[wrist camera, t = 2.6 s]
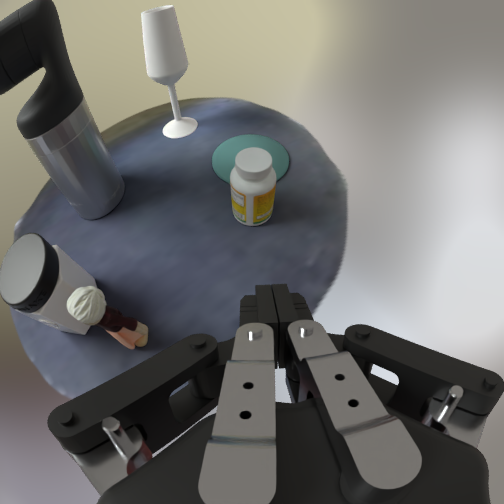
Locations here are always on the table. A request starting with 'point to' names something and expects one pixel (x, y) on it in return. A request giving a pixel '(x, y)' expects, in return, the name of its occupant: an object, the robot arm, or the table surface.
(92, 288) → the grandmother figurine
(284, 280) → the table surface
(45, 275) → the jar
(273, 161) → the mat
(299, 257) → the table surface
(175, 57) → the champagne flute
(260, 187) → the supplement bottle
